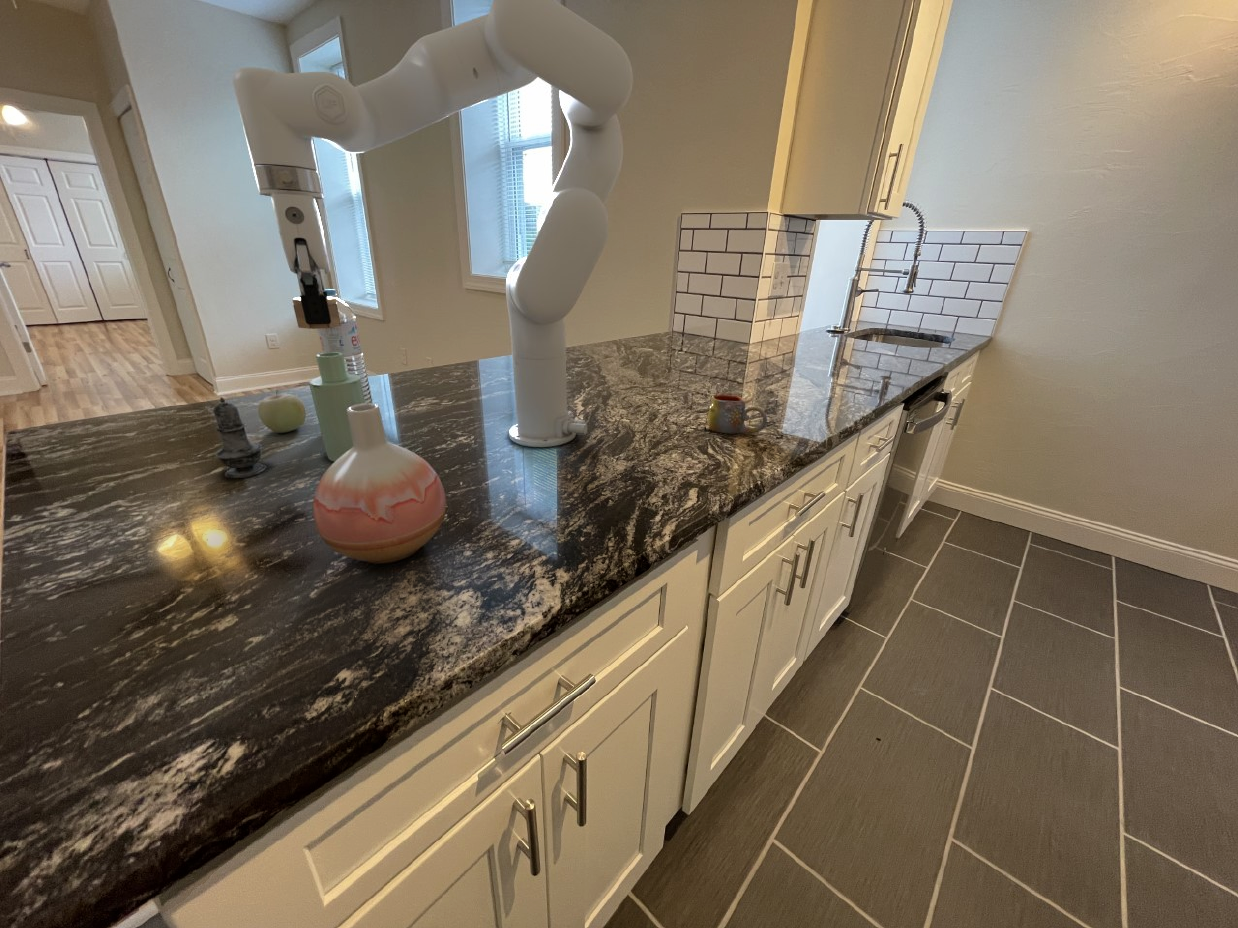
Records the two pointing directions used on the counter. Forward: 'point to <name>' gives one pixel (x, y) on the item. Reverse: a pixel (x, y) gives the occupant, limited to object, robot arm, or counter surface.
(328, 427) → the ceramic bottle
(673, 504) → the counter surface
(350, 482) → the vase
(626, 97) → the robot arm
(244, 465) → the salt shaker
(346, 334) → the water bottle
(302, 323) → the cap
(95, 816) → the counter surface
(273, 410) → the fruit
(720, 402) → the mug
